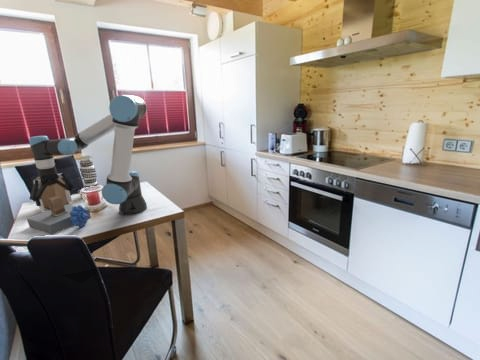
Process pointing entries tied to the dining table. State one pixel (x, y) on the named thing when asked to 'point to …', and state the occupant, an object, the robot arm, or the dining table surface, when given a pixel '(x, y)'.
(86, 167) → the decorative candle
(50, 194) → the wooden block
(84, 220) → the grapes
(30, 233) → the dining table surface
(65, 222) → the seat block
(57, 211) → the walnut peg
